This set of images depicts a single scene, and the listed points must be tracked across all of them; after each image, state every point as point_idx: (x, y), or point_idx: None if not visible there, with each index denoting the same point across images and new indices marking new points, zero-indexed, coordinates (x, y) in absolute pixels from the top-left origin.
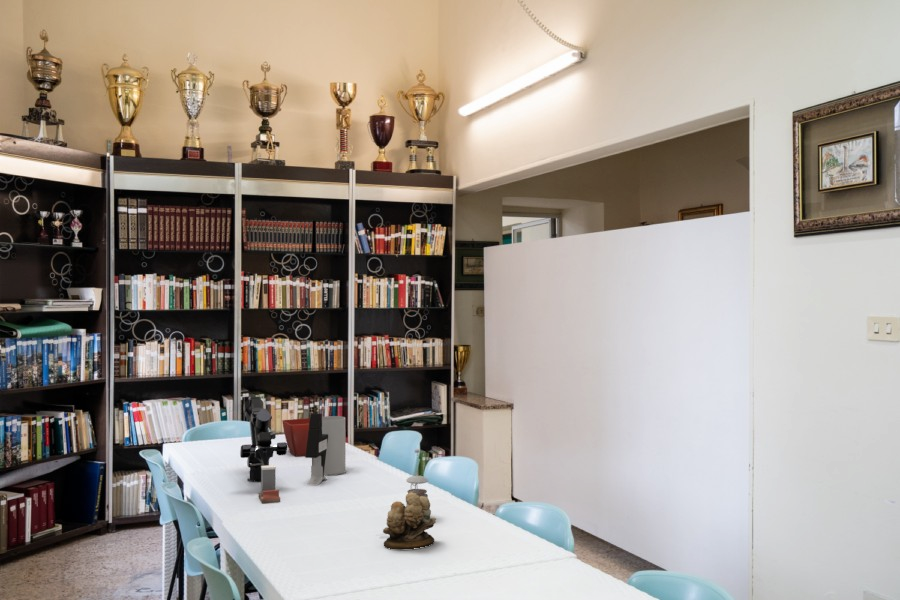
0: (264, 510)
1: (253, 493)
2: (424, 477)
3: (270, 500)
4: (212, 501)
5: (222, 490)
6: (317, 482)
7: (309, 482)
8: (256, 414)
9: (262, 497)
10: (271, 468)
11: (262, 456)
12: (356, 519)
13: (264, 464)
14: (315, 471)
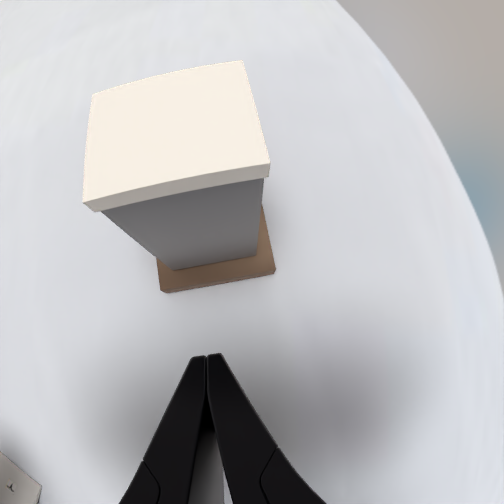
0: (229, 49)
1: (312, 372)
2: None
3: None
4: (474, 221)
5: (462, 437)
6: (2, 468)
7: (31, 490)
8: None
9: None
10: (140, 89)
11: (274, 496)
12: (32, 23)
13: (228, 369)
14: None
